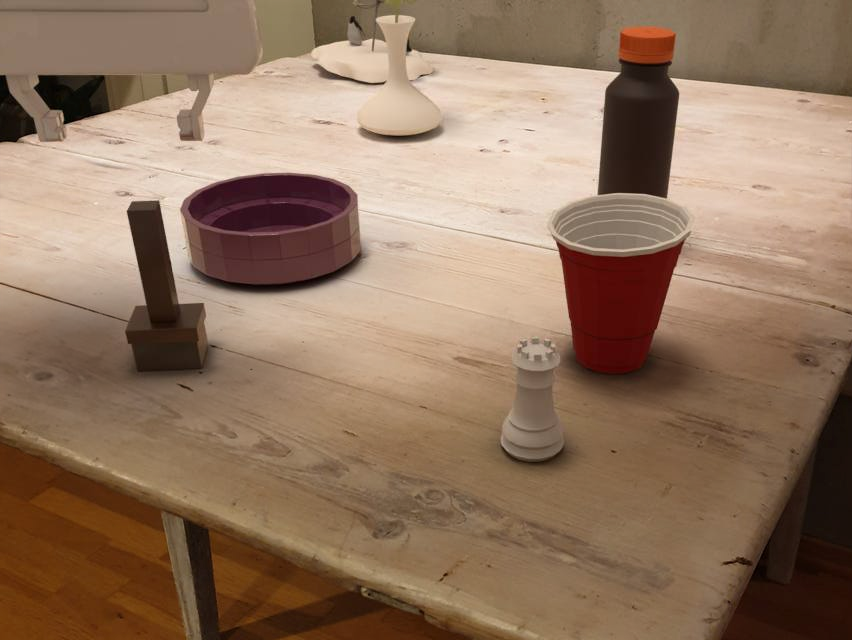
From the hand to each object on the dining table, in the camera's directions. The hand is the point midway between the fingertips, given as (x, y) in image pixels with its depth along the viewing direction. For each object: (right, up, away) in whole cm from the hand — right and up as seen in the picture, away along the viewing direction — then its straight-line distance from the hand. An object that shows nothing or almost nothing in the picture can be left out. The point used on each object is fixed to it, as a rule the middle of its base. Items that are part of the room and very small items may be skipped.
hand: (123, 139), depth 68 cm
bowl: (+5, -3, +27) cm, 28 cm away
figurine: (+7, +40, +89) cm, 97 cm away
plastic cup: (+35, -14, +11) cm, 40 cm away
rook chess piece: (+29, -22, 0) cm, 36 cm away
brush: (0, -14, +10) cm, 18 cm away
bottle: (+40, -1, +30) cm, 50 cm away
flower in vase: (+15, +21, +62) cm, 67 cm away
